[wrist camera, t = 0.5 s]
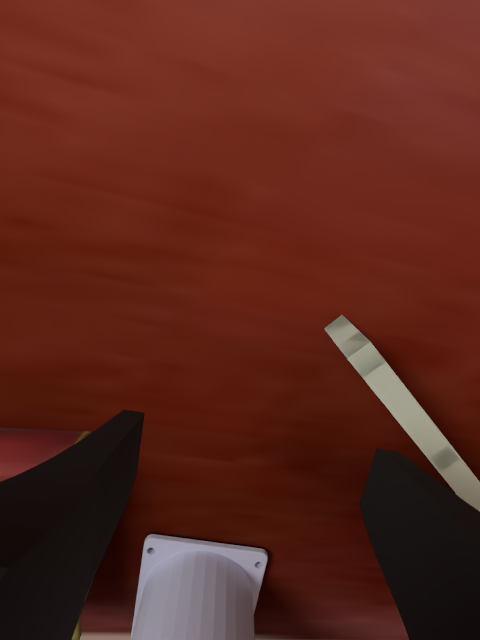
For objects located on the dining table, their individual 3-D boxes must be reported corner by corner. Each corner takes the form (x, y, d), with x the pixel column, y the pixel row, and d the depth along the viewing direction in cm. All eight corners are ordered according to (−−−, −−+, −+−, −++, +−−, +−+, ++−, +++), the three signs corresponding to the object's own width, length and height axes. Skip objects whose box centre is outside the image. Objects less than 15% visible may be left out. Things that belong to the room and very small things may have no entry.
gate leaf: (474, 484, 24) (528, 544, 19) (458, 495, 24) (507, 556, 19) (342, 314, 20) (370, 341, 16) (323, 328, 21) (347, 358, 16)
